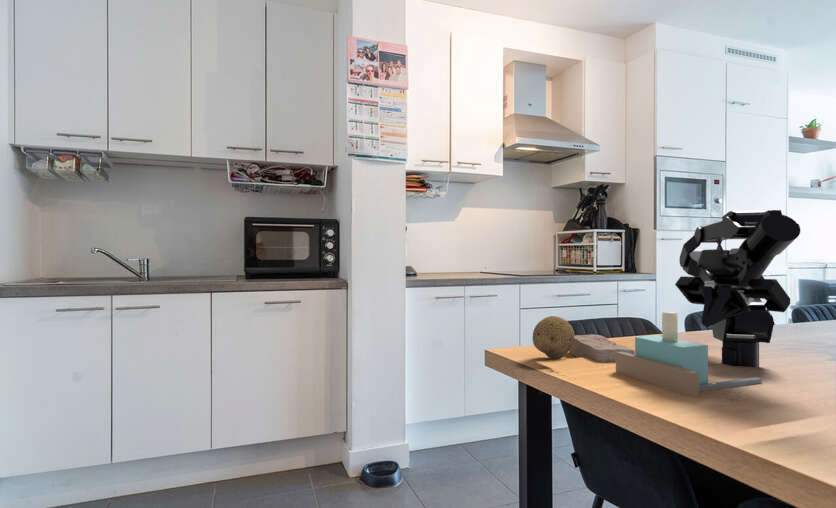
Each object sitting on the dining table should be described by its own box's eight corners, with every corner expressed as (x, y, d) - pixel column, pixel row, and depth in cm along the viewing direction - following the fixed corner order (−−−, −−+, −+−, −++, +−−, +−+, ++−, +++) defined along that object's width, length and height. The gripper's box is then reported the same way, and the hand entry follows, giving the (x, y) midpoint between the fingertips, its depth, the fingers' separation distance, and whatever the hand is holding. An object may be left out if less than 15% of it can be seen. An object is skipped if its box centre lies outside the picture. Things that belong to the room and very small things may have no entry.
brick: (637, 369, 93) (637, 347, 94) (599, 370, 93) (599, 347, 93) (599, 353, 110) (599, 334, 110) (566, 353, 109) (566, 334, 109)
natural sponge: (554, 367, 94) (554, 320, 95) (523, 358, 102) (523, 315, 102) (582, 361, 99) (582, 317, 99) (551, 354, 107) (551, 312, 107)
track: (689, 371, 91) (689, 345, 91) (774, 394, 76) (774, 363, 76) (615, 379, 85) (615, 352, 85) (691, 406, 70) (691, 372, 70)
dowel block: (658, 372, 85) (658, 308, 85) (707, 386, 75) (707, 315, 75) (635, 374, 83) (635, 310, 83) (683, 390, 73) (682, 317, 73)
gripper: (681, 237, 93) (639, 291, 89) (777, 231, 75) (730, 298, 72) (710, 275, 95) (670, 329, 92) (810, 277, 77) (765, 345, 74)
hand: (704, 324), depth 82 cm, fingers closed
